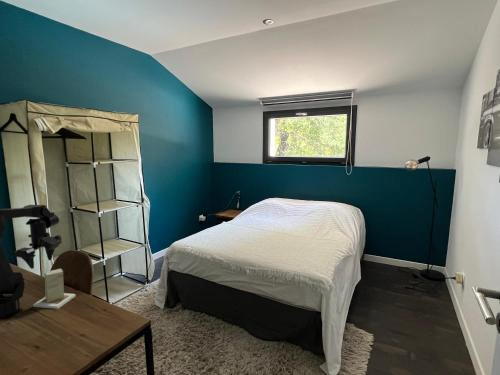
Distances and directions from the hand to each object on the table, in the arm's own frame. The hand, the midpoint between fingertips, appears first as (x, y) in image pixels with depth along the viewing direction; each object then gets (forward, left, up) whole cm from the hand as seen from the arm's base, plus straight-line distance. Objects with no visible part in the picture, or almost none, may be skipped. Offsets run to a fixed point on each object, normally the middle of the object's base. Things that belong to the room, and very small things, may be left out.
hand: (41, 264), depth 125 cm
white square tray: (-8, -13, -13) cm, 20 cm away
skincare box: (-8, -13, -11) cm, 19 cm away
